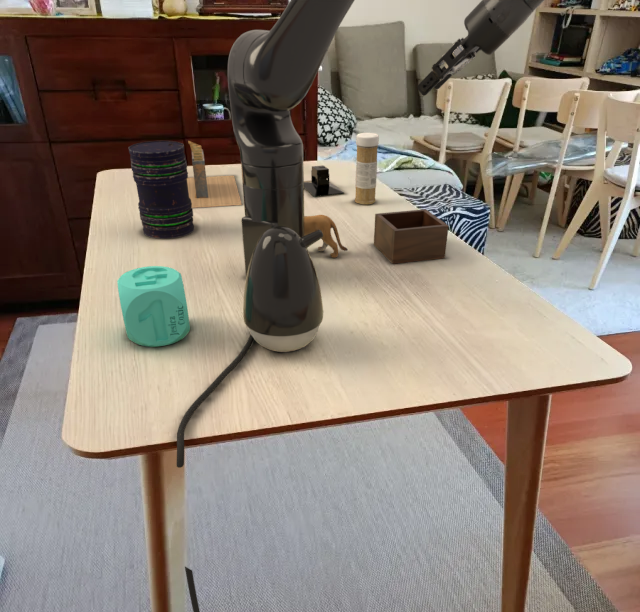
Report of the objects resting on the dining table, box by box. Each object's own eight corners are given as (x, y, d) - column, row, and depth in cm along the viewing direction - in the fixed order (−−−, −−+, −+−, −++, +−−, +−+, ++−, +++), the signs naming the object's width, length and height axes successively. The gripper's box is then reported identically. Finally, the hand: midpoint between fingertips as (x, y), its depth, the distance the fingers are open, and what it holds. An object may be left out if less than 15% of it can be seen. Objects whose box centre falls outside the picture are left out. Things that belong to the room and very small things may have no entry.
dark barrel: (158, 242, 111) (144, 155, 102) (133, 229, 117) (117, 146, 108) (205, 230, 117) (195, 146, 108) (178, 218, 122) (167, 138, 114)
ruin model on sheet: (166, 179, 148) (159, 135, 142) (233, 175, 150) (230, 132, 144) (163, 209, 128) (156, 160, 122) (241, 204, 130) (238, 156, 124)
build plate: (344, 194, 136) (344, 173, 134) (313, 198, 134) (313, 176, 132) (325, 180, 146) (325, 159, 143) (296, 183, 144) (295, 162, 141)
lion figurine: (263, 259, 104) (260, 206, 99) (264, 248, 108) (261, 197, 103) (348, 258, 105) (350, 204, 99) (346, 247, 109) (347, 195, 104)
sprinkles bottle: (365, 197, 134) (368, 131, 126) (379, 202, 131) (383, 134, 123) (350, 201, 132) (351, 134, 124) (364, 206, 129) (367, 137, 121)
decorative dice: (130, 351, 78) (117, 293, 74) (127, 324, 85) (116, 269, 80) (192, 342, 80) (184, 285, 76) (185, 316, 86) (177, 262, 82)
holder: (444, 258, 104) (448, 225, 101) (392, 264, 102) (394, 230, 99) (422, 239, 112) (425, 209, 109) (373, 244, 110) (375, 213, 107)
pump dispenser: (334, 354, 77) (335, 236, 68) (254, 367, 75) (244, 246, 66) (312, 320, 85) (311, 210, 76) (239, 330, 83) (229, 218, 74)
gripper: (494, -5, 108) (425, 67, 119) (476, -3, 98) (402, 76, 108) (519, 31, 109) (449, 99, 120) (503, 37, 99) (428, 111, 110)
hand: (427, 88), depth 114 cm, fingers open, 8 cm apart
